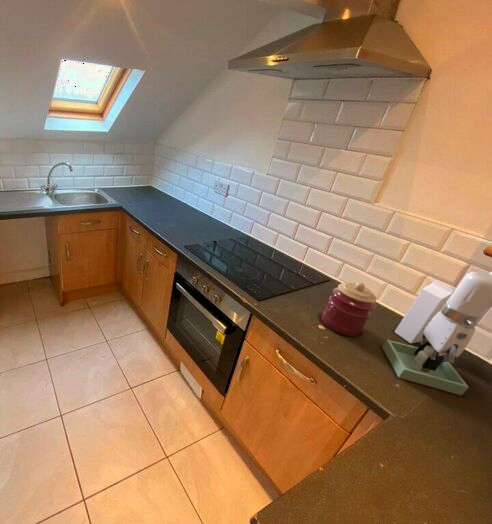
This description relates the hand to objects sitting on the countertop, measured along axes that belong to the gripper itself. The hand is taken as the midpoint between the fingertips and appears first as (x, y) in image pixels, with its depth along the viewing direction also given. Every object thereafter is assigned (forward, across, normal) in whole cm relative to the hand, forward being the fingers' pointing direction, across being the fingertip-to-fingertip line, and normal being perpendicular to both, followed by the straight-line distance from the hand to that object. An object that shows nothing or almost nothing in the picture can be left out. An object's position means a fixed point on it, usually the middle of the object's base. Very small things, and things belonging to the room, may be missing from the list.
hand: (424, 361), depth 91 cm
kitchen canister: (+3, +14, +19) cm, 24 cm away
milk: (+3, +18, -4) cm, 18 cm away
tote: (+3, 0, 0) cm, 3 cm away
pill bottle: (+3, 0, 0) cm, 3 cm away
